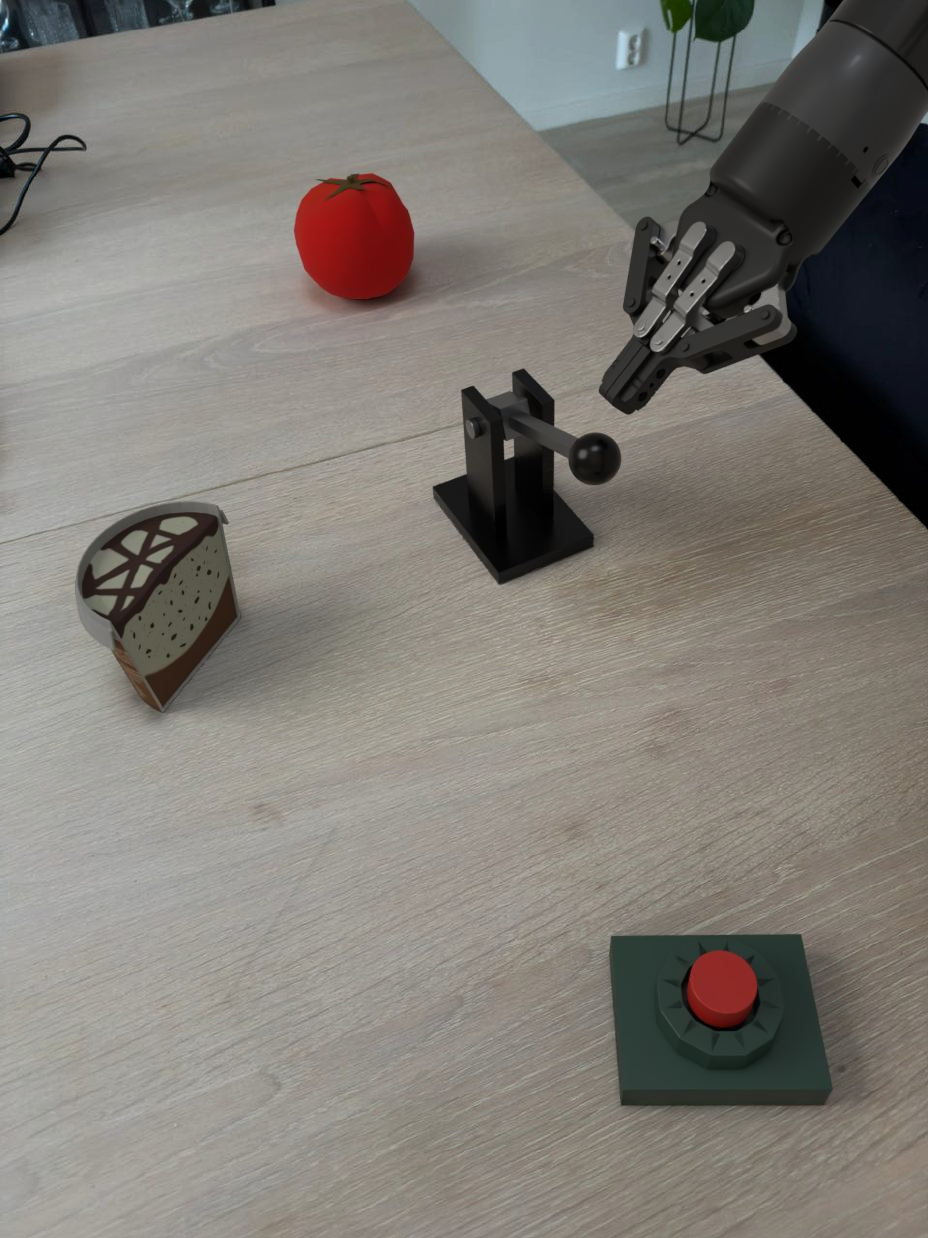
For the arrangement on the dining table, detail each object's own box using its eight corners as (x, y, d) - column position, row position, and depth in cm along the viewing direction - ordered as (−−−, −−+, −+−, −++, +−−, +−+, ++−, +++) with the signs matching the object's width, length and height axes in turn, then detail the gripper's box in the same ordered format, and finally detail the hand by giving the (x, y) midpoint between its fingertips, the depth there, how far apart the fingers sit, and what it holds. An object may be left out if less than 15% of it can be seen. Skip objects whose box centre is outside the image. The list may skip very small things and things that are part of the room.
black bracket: (593, 546, 81) (599, 418, 73) (499, 585, 79) (493, 457, 71) (522, 464, 88) (519, 338, 79) (433, 497, 86) (420, 371, 77)
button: (747, 965, 55) (751, 949, 54) (757, 1028, 53) (762, 1013, 52) (683, 966, 55) (686, 950, 54) (691, 1028, 53) (694, 1013, 52)
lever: (634, 481, 66) (627, 431, 65) (589, 499, 65) (581, 449, 64) (523, 425, 79) (515, 382, 77) (483, 439, 78) (474, 396, 76)
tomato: (392, 326, 103) (379, 214, 94) (283, 309, 106) (261, 198, 98) (438, 262, 110) (430, 153, 102) (335, 248, 113) (319, 140, 105)
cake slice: (183, 580, 81) (147, 476, 74) (252, 604, 79) (222, 499, 72) (76, 700, 74) (24, 598, 67) (149, 729, 72) (103, 628, 65)
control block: (794, 952, 59) (807, 917, 56) (824, 1105, 54) (840, 1076, 51) (609, 954, 60) (612, 919, 57) (620, 1105, 54) (625, 1076, 51)
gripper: (707, 61, 60) (516, 325, 65) (877, 152, 51) (642, 444, 57) (771, 134, 65) (589, 372, 71) (933, 226, 57) (713, 487, 62)
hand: (613, 404), depth 64 cm, fingers closed
